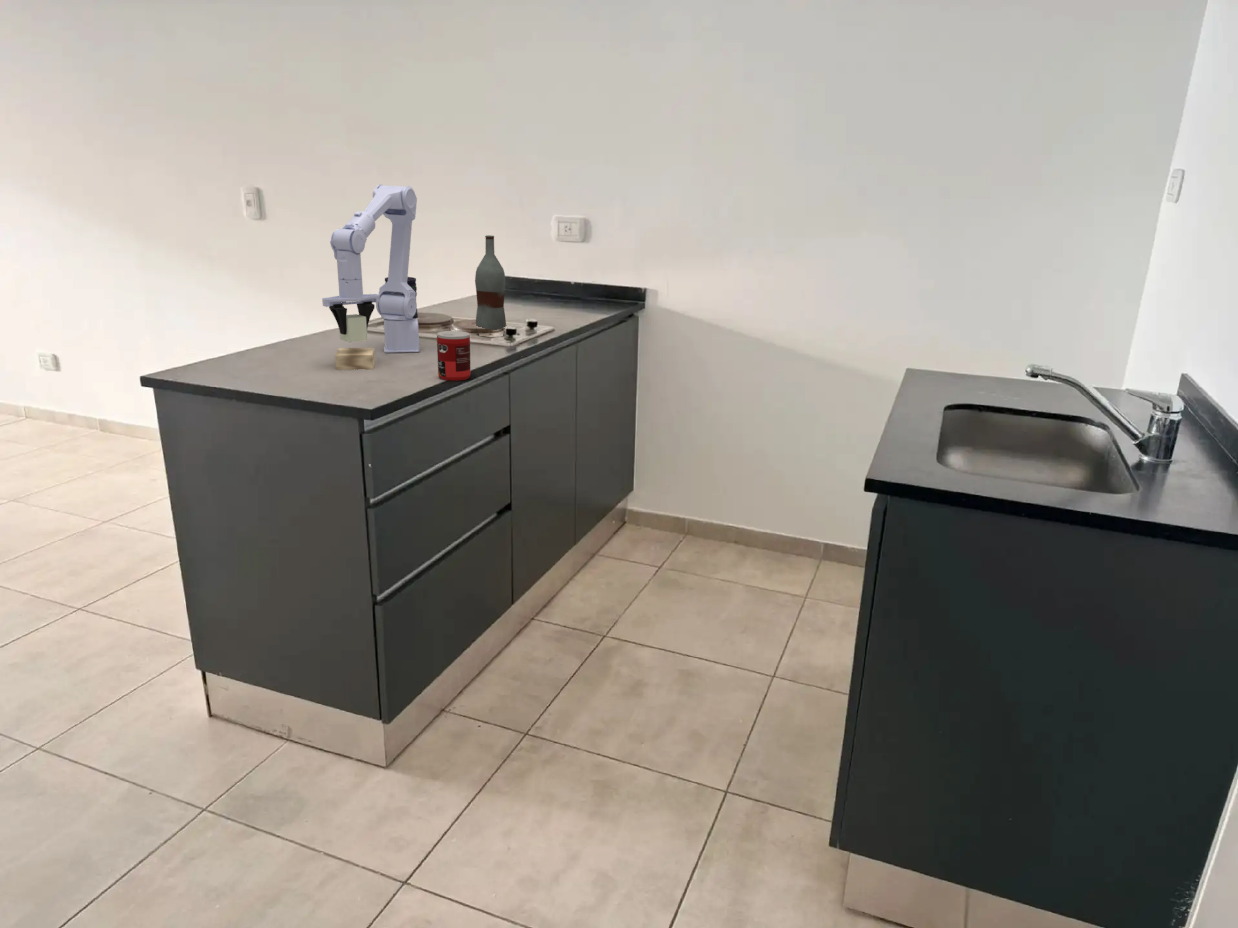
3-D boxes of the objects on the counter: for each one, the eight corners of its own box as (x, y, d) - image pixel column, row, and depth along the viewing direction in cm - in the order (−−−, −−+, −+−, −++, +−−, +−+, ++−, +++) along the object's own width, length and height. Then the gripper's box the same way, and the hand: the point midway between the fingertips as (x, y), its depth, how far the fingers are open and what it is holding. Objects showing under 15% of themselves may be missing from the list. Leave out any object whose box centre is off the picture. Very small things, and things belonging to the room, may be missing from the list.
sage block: (358, 337, 220) (356, 314, 218) (367, 340, 216) (365, 316, 214) (340, 339, 216) (338, 315, 215) (349, 342, 213) (347, 318, 211)
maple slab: (375, 362, 224) (374, 347, 222) (373, 370, 215) (372, 355, 214) (339, 363, 222) (338, 348, 220) (336, 371, 214) (334, 355, 212)
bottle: (486, 339, 258) (484, 237, 248) (470, 334, 264) (468, 234, 254) (511, 336, 264) (511, 236, 254) (495, 331, 270) (494, 234, 260)
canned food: (440, 373, 214) (438, 330, 210) (471, 374, 215) (471, 331, 211) (436, 380, 207) (434, 336, 203) (469, 381, 207) (468, 336, 204)
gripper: (368, 275, 219) (372, 327, 223) (315, 278, 209) (319, 333, 214) (382, 278, 214) (385, 331, 218) (328, 282, 204) (332, 337, 209)
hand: (353, 332), depth 216 cm, fingers closed on sage block, 5 cm apart
